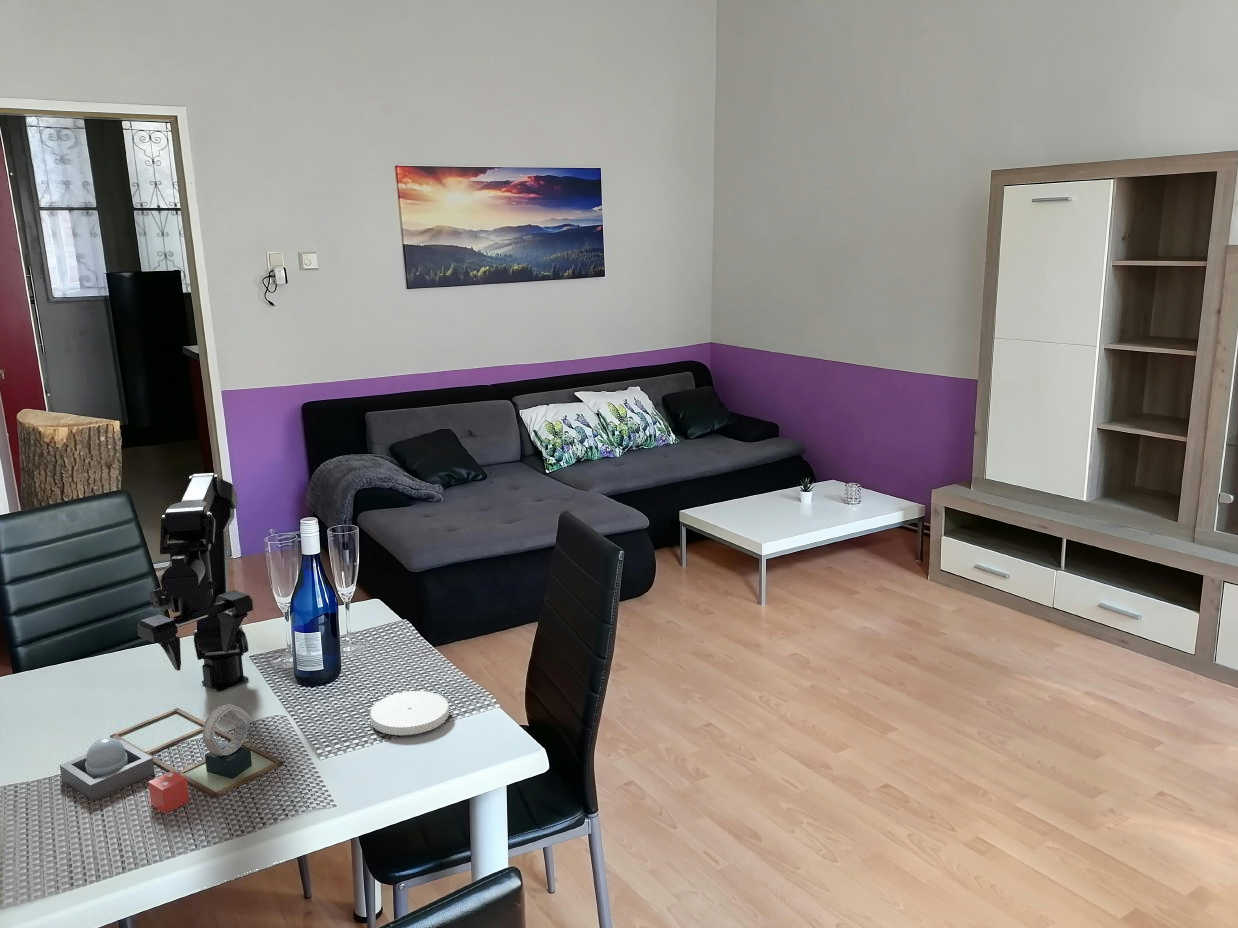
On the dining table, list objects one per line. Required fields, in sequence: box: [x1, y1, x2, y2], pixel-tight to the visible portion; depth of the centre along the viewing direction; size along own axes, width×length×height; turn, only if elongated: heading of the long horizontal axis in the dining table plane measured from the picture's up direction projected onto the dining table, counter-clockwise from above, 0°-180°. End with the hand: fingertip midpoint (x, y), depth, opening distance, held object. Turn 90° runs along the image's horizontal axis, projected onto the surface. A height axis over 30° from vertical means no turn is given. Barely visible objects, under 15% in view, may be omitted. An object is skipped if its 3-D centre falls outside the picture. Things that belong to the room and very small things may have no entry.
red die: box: [147, 771, 191, 814], centre depth 148 cm, size 4×4×4 cm
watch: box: [202, 703, 252, 779], centre depth 157 cm, size 6×8×11 cm
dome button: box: [85, 737, 128, 779], centre depth 155 cm, size 6×6×6 cm
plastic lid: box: [369, 690, 450, 736], centre depth 174 cm, size 14×14×2 cm
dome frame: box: [59, 739, 156, 803], centre depth 155 cm, size 10×10×3 cm
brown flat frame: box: [109, 707, 284, 799], centre depth 164 cm, size 13×32×1 cm, turn 54°
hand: (202, 660), depth 169 cm, fingers open, 9 cm apart
